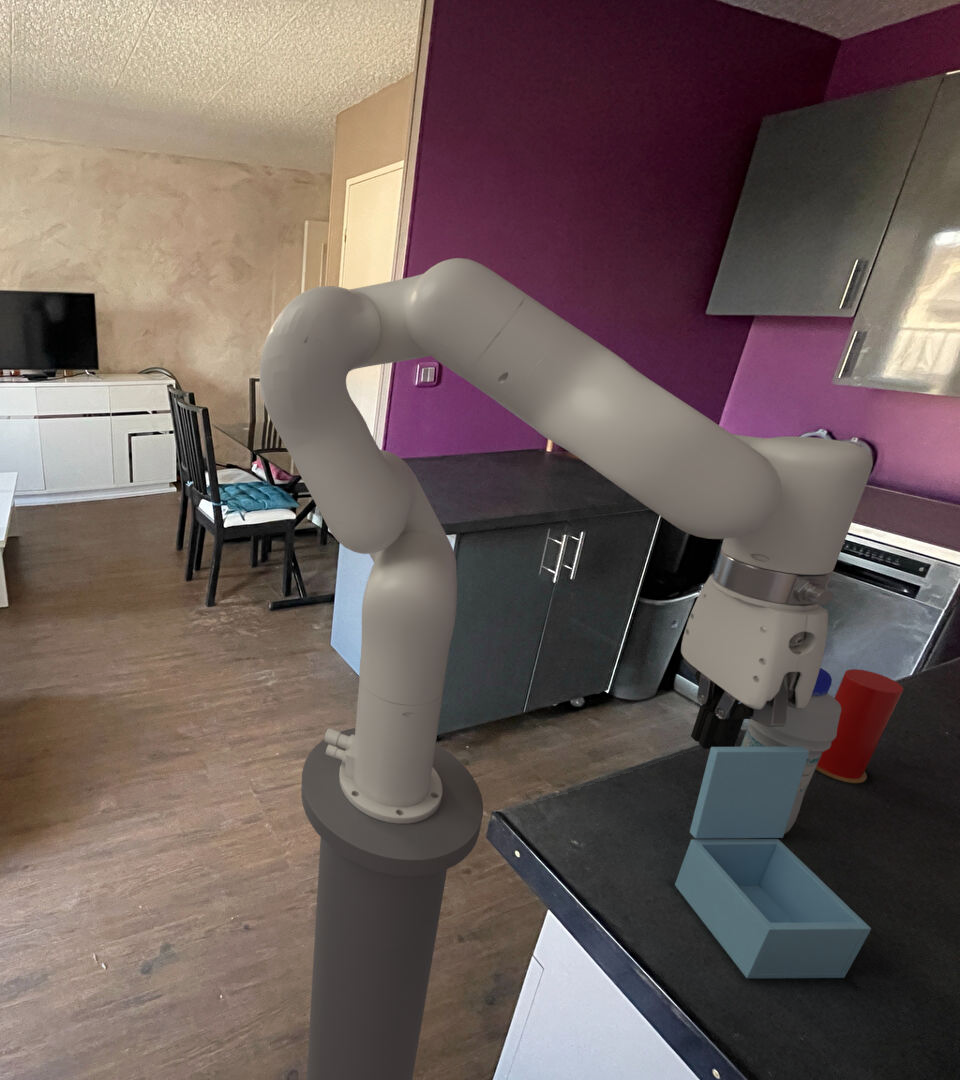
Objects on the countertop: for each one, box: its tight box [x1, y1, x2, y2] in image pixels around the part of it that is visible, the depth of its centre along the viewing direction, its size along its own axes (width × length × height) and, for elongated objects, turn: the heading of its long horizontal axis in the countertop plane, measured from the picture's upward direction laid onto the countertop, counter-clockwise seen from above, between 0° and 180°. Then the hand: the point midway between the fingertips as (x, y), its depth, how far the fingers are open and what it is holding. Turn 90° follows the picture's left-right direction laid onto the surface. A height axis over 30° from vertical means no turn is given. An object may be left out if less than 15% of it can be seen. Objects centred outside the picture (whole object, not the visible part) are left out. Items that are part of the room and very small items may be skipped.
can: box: [817, 668, 904, 779], centre depth 70 cm, size 5×5×12 cm
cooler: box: [674, 838, 872, 979], centre depth 53 cm, size 9×8×6 cm
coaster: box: [815, 766, 868, 784], centre depth 73 cm, size 6×6×1 cm
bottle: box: [740, 667, 841, 835], centre depth 62 cm, size 7×7×20 cm
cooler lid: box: [689, 746, 809, 839], centre depth 54 cm, size 10×8×1 cm
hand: (711, 742), depth 58 cm, fingers closed
